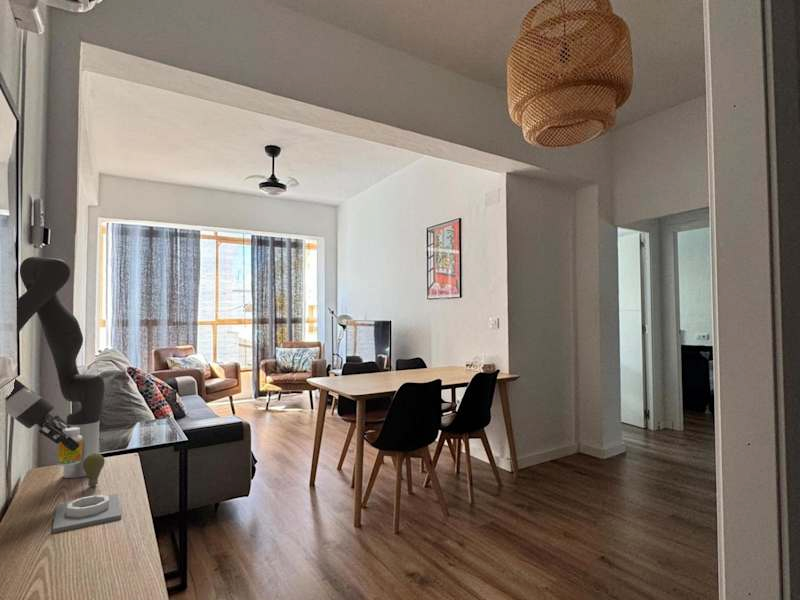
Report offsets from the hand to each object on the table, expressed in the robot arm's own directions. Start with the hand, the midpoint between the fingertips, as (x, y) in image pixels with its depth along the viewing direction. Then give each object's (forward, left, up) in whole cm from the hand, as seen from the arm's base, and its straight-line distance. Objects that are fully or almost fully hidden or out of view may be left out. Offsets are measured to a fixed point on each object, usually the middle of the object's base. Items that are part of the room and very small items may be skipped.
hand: (78, 445), depth 126 cm
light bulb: (-11, -2, -16) cm, 19 cm away
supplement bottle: (+1, -2, -5) cm, 5 cm away
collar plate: (+9, +10, -15) cm, 20 cm away
